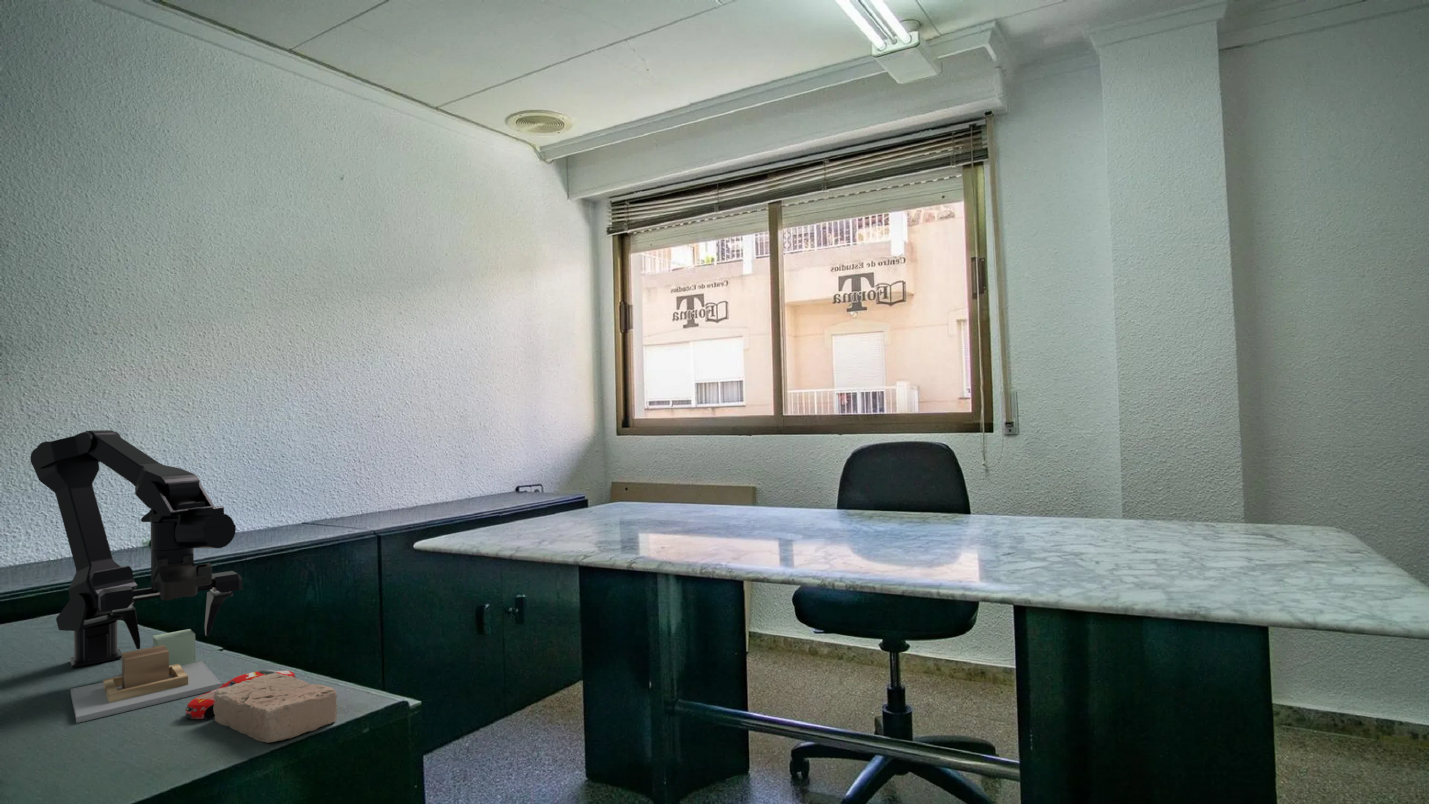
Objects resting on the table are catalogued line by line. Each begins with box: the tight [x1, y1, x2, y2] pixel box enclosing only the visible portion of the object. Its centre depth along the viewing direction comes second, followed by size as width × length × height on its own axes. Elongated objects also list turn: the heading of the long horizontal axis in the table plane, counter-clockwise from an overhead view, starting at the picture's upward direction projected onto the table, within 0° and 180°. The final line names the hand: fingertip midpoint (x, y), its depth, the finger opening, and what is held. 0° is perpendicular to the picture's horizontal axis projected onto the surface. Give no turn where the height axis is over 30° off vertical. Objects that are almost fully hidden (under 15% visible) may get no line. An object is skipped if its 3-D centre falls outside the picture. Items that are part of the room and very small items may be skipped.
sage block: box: [152, 628, 197, 666], centre depth 118 cm, size 5×5×5 cm
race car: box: [185, 669, 297, 720], centre depth 98 cm, size 13×5×4 cm, turn 139°
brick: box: [213, 674, 338, 743], centre depth 92 cm, size 17×8×5 cm, turn 56°
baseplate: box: [70, 660, 222, 724], centre depth 105 cm, size 16×16×2 cm
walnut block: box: [121, 645, 169, 689], centre depth 105 cm, size 5×5×5 cm
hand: (173, 641), depth 118 cm, fingers open, 9 cm apart
